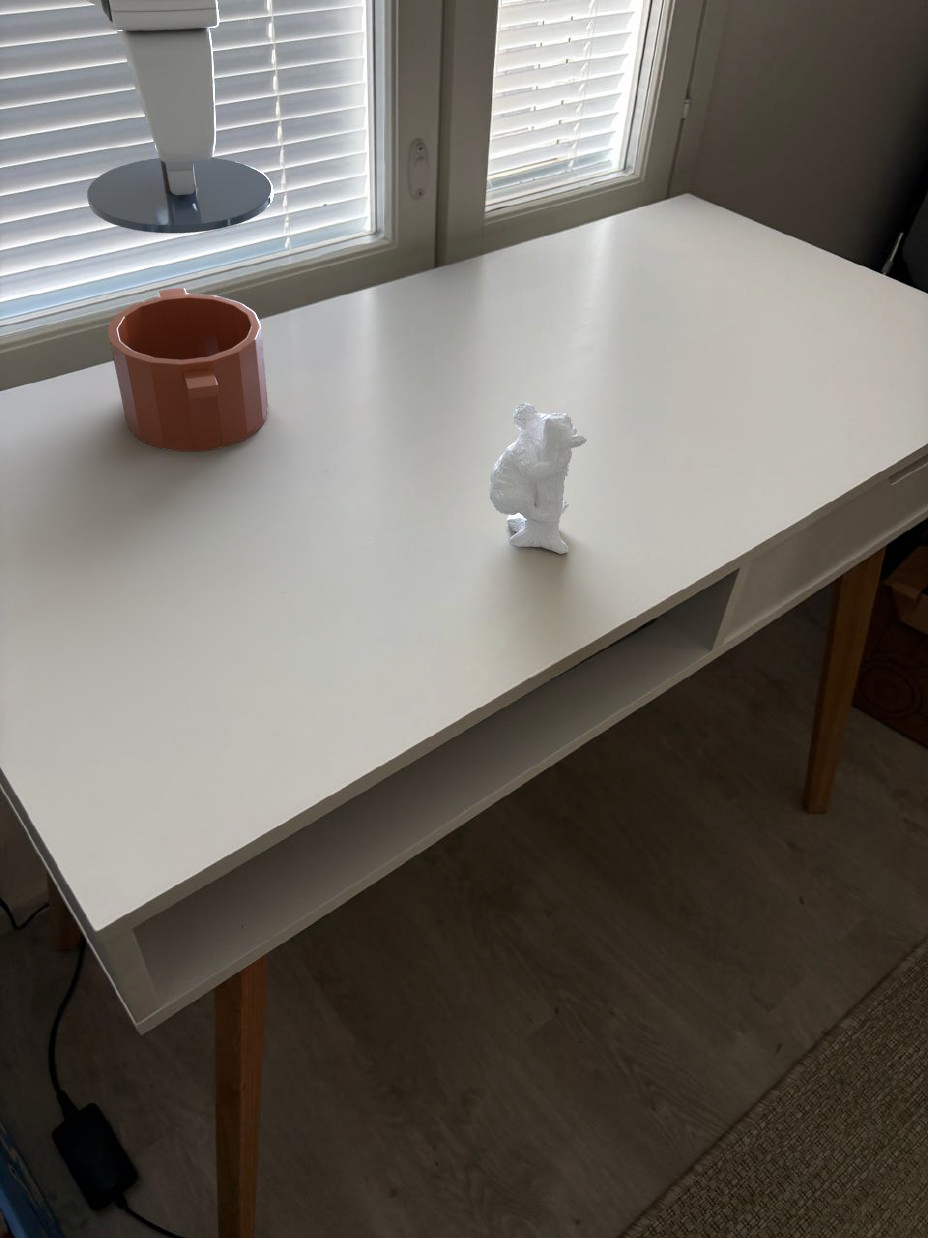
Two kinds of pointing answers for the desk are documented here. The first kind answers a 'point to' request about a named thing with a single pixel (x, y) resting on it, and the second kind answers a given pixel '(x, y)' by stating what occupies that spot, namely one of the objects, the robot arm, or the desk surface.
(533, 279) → the desk surface
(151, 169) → the lid
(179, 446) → the pot
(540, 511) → the koala figurine
